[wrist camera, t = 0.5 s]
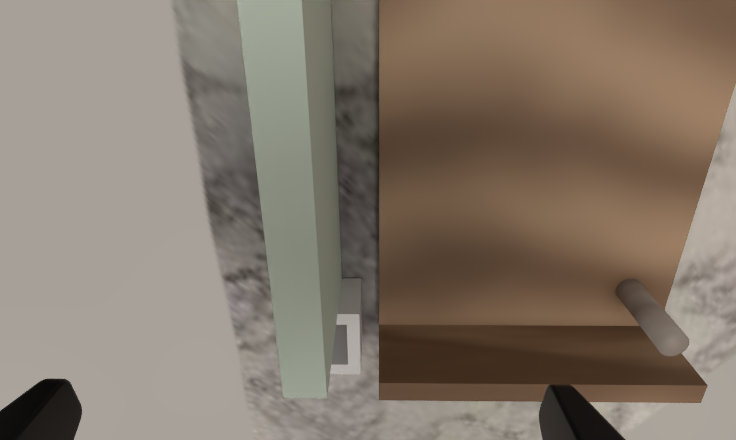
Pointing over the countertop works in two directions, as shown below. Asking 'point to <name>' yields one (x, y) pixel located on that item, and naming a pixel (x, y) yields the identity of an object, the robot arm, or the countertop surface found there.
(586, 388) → the cabinet floor
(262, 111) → the door
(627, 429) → the countertop surface
